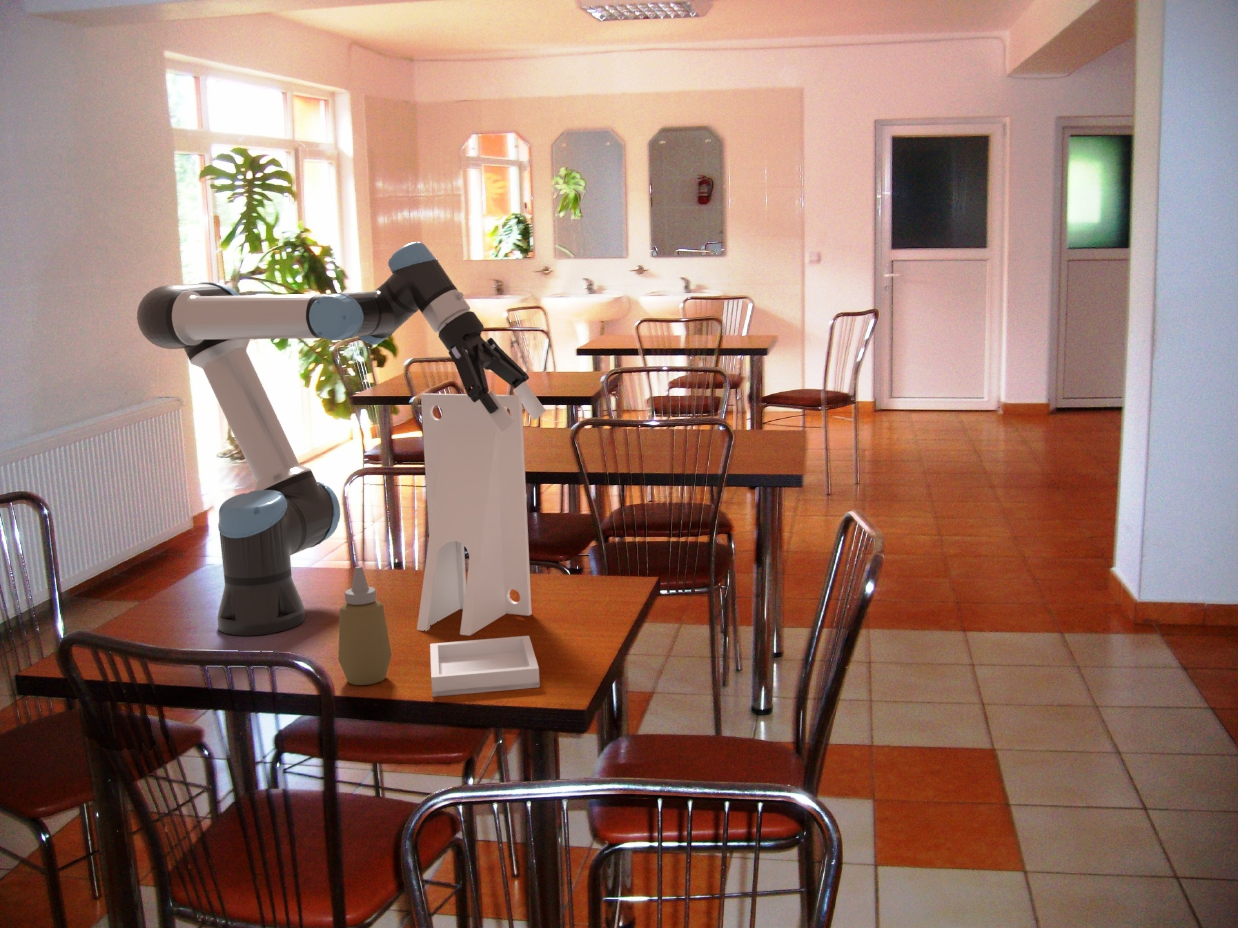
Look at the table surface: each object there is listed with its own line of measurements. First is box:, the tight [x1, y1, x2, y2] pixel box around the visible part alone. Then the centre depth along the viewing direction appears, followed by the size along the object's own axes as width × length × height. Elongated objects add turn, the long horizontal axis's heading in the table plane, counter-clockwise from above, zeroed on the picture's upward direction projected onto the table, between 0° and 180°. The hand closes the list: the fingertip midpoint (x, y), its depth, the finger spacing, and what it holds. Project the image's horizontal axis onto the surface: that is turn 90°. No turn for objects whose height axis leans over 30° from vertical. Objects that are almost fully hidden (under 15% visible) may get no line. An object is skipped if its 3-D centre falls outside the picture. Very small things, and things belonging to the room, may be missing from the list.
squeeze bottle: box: [338, 566, 392, 686], centre depth 185 cm, size 8×8×18 cm
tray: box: [429, 635, 541, 698], centre depth 187 cm, size 16×16×3 cm
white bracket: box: [416, 393, 532, 636], centre depth 212 cm, size 20×14×40 cm
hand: (524, 421), depth 208 cm, fingers open, 13 cm apart
